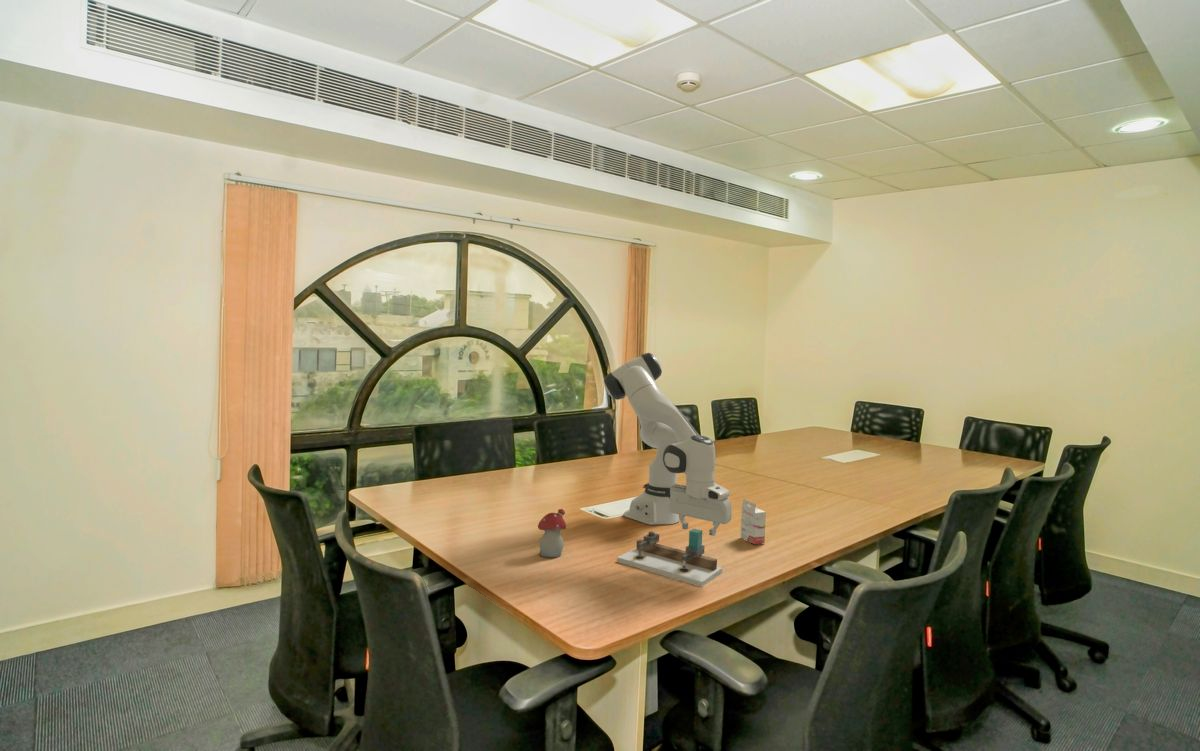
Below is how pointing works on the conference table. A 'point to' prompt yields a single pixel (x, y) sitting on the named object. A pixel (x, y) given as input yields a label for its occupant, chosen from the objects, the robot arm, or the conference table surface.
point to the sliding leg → (693, 546)
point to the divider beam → (672, 552)
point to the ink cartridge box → (752, 523)
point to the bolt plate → (669, 567)
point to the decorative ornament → (552, 534)
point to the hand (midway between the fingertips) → (698, 531)
